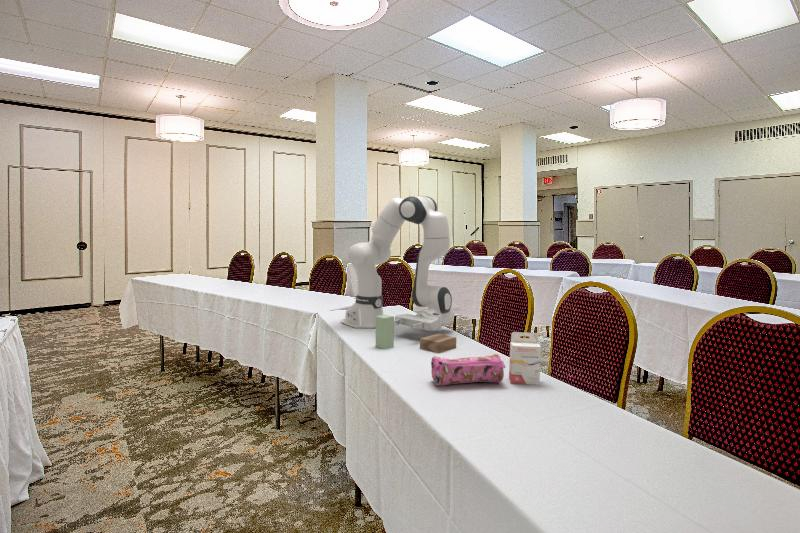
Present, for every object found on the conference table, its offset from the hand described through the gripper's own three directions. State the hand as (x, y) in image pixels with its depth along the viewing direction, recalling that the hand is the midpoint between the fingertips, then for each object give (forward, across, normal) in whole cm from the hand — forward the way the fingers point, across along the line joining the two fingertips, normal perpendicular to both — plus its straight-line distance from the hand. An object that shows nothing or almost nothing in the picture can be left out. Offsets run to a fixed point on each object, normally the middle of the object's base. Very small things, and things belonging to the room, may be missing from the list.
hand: (403, 324), depth 190 cm
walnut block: (-2, +16, +7) cm, 18 cm away
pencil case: (+23, +47, +7) cm, 53 cm away
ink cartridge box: (+10, +59, +7) cm, 60 cm away
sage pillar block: (+11, 0, +7) cm, 13 cm away
